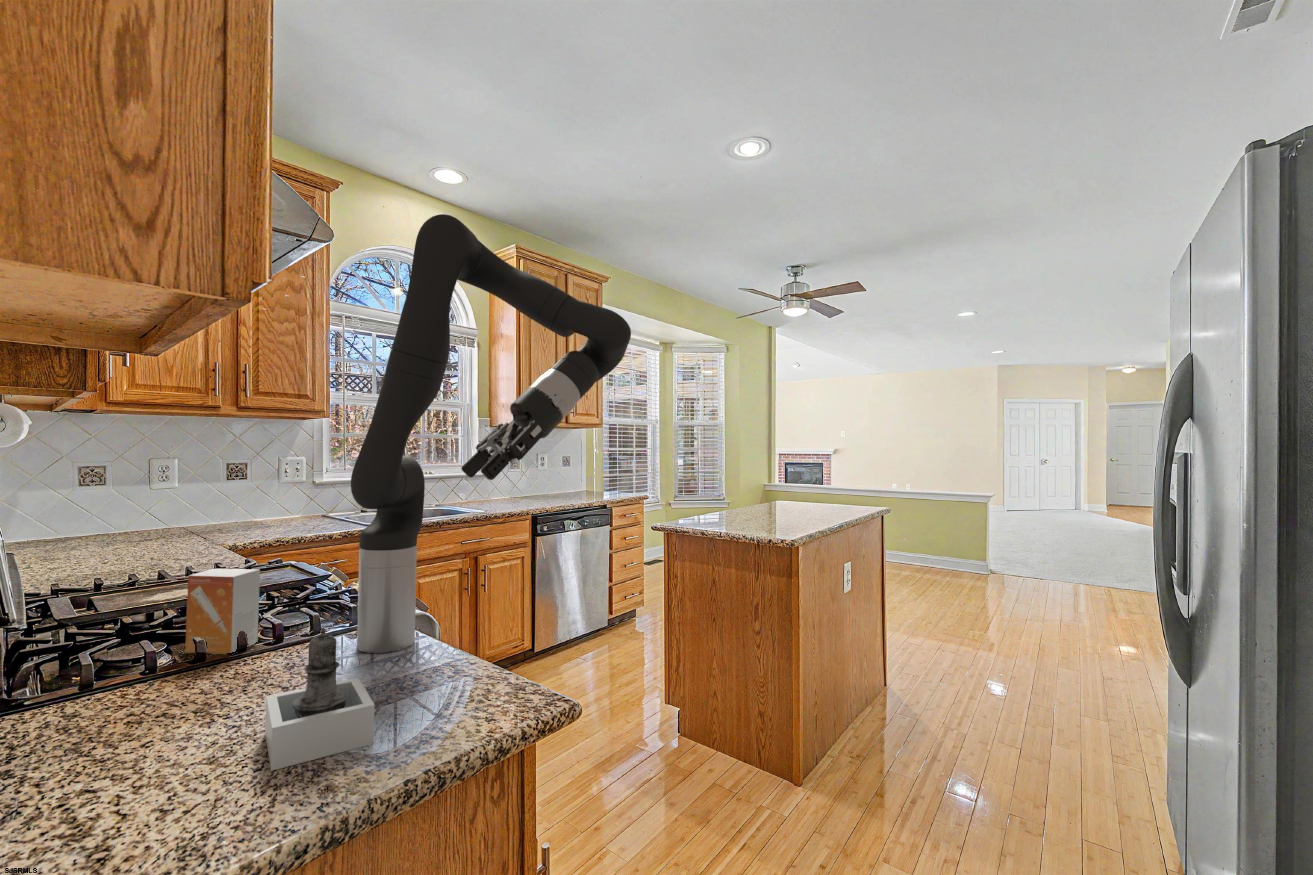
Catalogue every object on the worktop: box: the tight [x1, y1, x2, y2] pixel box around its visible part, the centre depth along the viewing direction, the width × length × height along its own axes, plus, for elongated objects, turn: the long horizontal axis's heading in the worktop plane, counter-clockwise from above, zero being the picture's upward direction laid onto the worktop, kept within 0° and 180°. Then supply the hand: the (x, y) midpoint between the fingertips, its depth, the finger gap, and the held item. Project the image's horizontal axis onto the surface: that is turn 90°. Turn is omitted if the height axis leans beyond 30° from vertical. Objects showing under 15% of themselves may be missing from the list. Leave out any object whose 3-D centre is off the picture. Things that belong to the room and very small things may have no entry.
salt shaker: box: [292, 627, 349, 718], centre depth 69 cm, size 6×6×12 cm
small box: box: [184, 568, 261, 655], centre depth 100 cm, size 8×6×13 cm
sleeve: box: [264, 677, 375, 772], centre depth 69 cm, size 10×10×4 cm
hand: (475, 474), depth 88 cm, fingers open, 8 cm apart
